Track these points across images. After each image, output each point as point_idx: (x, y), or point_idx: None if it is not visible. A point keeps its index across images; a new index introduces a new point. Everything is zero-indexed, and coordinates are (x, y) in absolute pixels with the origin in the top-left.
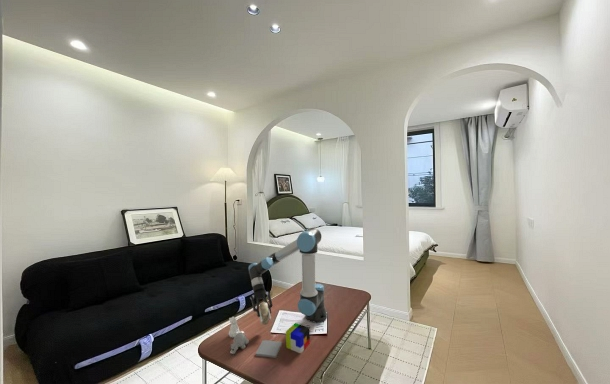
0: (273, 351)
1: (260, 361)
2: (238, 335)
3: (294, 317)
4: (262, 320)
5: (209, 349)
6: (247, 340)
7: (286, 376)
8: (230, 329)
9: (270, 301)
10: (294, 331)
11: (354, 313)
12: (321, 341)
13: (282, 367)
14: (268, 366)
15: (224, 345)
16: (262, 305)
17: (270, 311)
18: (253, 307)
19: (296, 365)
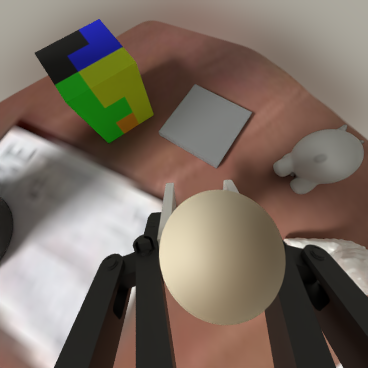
0: (196, 101)
1: (238, 92)
2: (353, 137)
3: (46, 277)
4: (224, 181)
5: None
6: (283, 160)
7: (188, 34)
8: None
9: (91, 324)
10: (102, 50)
11: None
12: (51, 102)
13: (188, 57)
14: (220, 70)
15: (358, 206)
16: (243, 224)
17: (153, 221)
18: (353, 292)
19: (155, 52)
